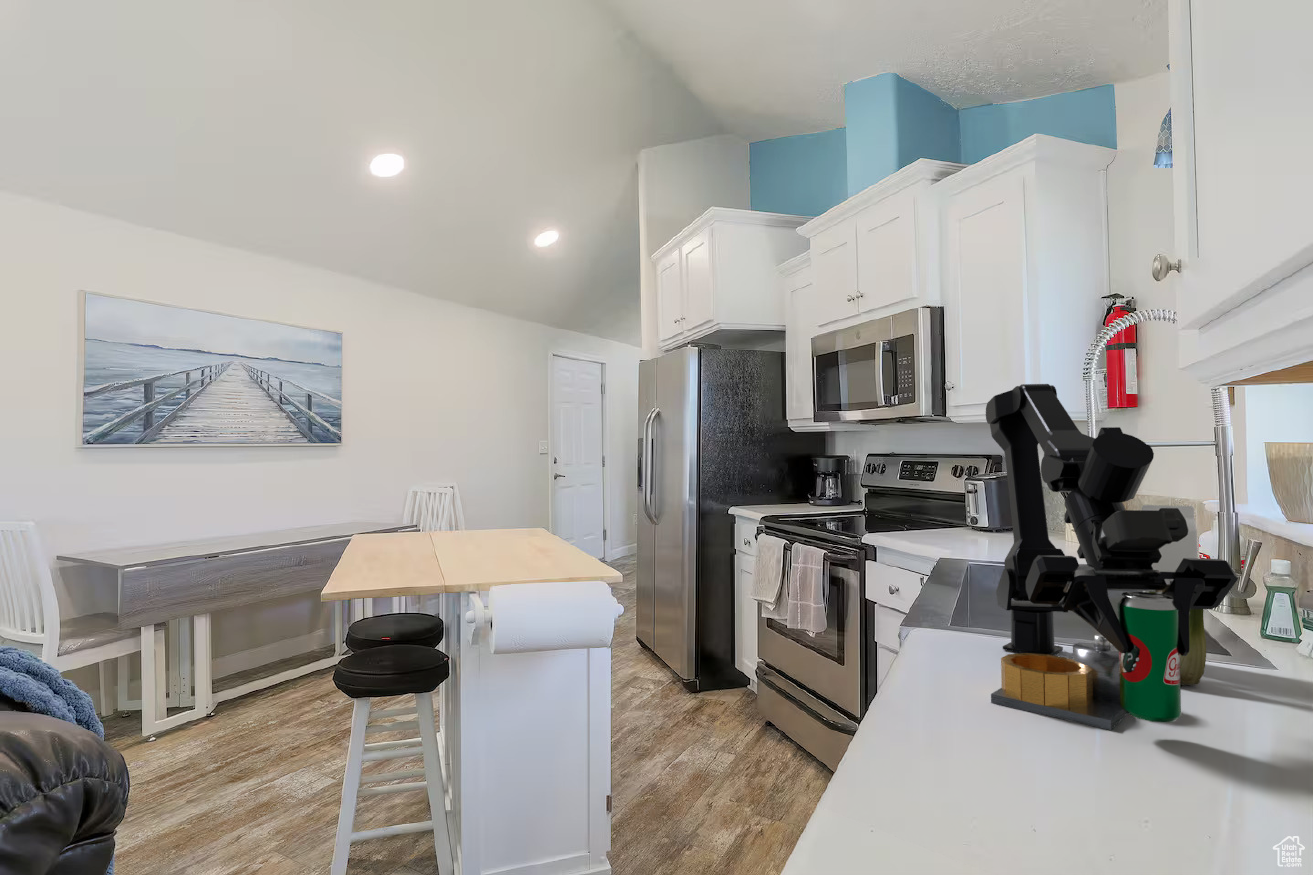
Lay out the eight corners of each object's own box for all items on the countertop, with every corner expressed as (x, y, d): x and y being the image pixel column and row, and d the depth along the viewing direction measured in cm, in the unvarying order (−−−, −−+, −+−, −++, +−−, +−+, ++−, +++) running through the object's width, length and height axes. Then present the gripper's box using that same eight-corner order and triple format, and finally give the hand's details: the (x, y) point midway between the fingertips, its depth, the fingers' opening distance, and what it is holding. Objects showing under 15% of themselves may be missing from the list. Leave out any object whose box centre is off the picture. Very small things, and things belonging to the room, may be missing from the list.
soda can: (1180, 728, 68) (1177, 602, 68) (1117, 716, 71) (1115, 596, 71) (1181, 713, 72) (1178, 594, 72) (1122, 703, 75) (1119, 588, 75)
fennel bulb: (1213, 689, 87) (1210, 591, 87) (1177, 691, 86) (1174, 592, 87) (1173, 675, 93) (1170, 583, 93) (1139, 677, 92) (1136, 584, 92)
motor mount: (1030, 678, 91) (1029, 619, 92) (1141, 700, 83) (1139, 635, 83) (991, 702, 82) (989, 637, 82) (1111, 730, 73) (1109, 657, 74)
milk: (1201, 673, 94) (1197, 507, 94) (1146, 666, 97) (1142, 505, 98) (1196, 662, 99) (1192, 504, 100) (1143, 656, 102) (1140, 503, 103)
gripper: (1032, 481, 77) (1074, 603, 66) (1224, 482, 74) (1303, 610, 63) (1011, 544, 85) (1045, 663, 74) (1184, 548, 81) (1248, 673, 70)
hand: (1155, 652), depth 70 cm, fingers closed on soda can, 5 cm apart
